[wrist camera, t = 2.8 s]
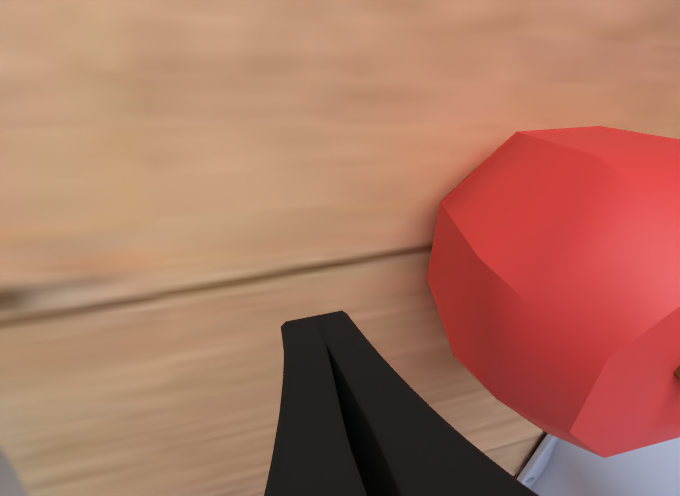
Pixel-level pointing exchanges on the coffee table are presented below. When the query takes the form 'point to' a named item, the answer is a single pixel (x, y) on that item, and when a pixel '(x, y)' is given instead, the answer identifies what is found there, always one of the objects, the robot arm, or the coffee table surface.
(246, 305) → the coffee table surface
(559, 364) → the apple
